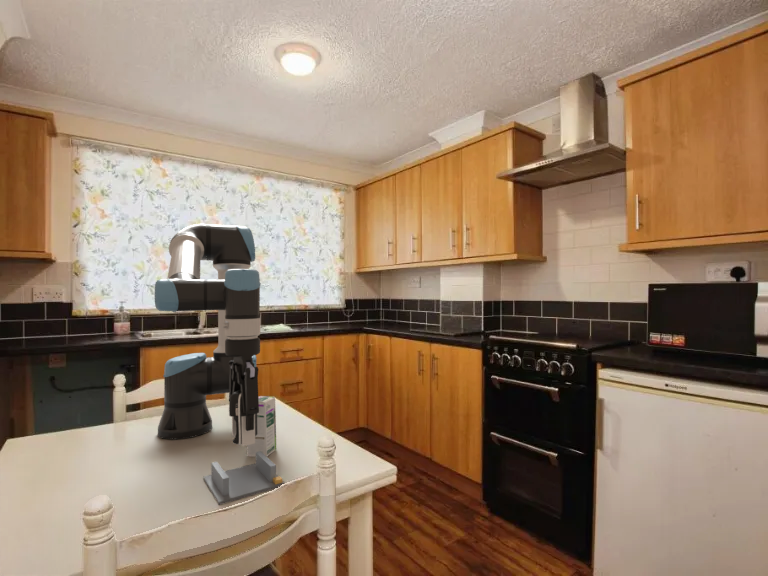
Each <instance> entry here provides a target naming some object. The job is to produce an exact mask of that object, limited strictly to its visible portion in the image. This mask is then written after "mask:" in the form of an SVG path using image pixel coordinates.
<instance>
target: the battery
mask: <svg viewBox="0 0 768 576" xmlns="http://www.w3.org/2000/svg"><path fill="white" fill-rule="evenodd" d="M228 402H229V403H228V404H229V406H228V412H229V413H228V415H229V417H231V418H232V417H234V420H235V421H236V436H235V437H234V439H232V443H233V444H234V445H239V446H242V417H240V414H241V413H243V406H242V396H241V389H240V390H238V391H236V392H234V393H233V394H232V395H231V396H230V401H229V400H228ZM257 434H258V433H257V413H256V414H255V436H256V435H257Z"/></svg>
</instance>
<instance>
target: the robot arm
mask: <svg viewBox="0 0 768 576" xmlns="http://www.w3.org/2000/svg"><path fill="white" fill-rule="evenodd" d="M168 252H169V255H170V261H169V268H168V273H167V278H163V279H158V280H156V281H155V283H154V304H155V306H154V307H155V309H156V310H157V311H160V312H173V313H176V312H193V311H194V312H195V311H197V312H198V311H199V312H200V311H217V312H218V313H217V322H218V325H217V326H218V327H217V329H218V331H217V332H218V334H217V337H218V343H217V347H216V348H215V349H213V355H212V356H209V357H207V353H205V352H193V353H189V354H182V355H178V356H175V357H172V358H169V359H168V360H167V361H166V362H165V364H164V371H163V372H164V373H163V379H164V382H163V383H164V385H163V386H164V391H163V392H164V393H163V395H164V398H163V401H164V404H163V406H164V407H163V411H162V414H161V417H160V420H159V423H158V426H157V437H159V438H161V439H165V440H183V439H189V438H190V439H191V438H195V437H198V436H201V435H203V434H206V433H208V432H210V431H211V430H212V429H213V419H212V417H211V414H210V411H209V408H208V405H207V396H209V395H210V396H211V395H220V394H228V402H229V401H230V396H231V395H232V394H233V393H234V392H236V391H238V390H240V389H241V396H242V406H243V413H241V414H240V417H242V445H241V446H242V447H247V445H250V444H255V414H256V413H259V400H258V396H259V383H258V382H259V381H258V380H259V379H258V378H259V368H258V366H257V355H259V354H260V352H261V339H260V337H258V336H260V335H261V315H260V310H261V306H260V303H261V302H260V300H261V299H260V298H261V297H260V296H261V295H260V294H261V282H260V281H261V280H260V278H261V277H260V272H259V271H258V270H256V269H253V268H251V265H252V264H251V263H253V262H255V261H256V247H255V240H254V235H253V232H252V229H250V228H249V227H248V226H242V225H237V224H236V225H234V224H230V225H229V224H213V223H212V224H211V223H210V224H209V223H207V224H206V223H198V224H197V223H195V224H192V225H189V226H187V227H184V228H183V229H181V230H179V231H178V232H177V233H176V234H174V235H173V236H172V238H171V240H170V241H169V245H168ZM201 261H210V262H211V261H212V267H213V268H214V269H215V270H216V271H217V279H205V278H204V279H202V278H201ZM231 436H232V437H234V438H235V436H236V421H235V420H234V417H231Z"/></svg>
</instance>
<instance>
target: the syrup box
mask: <svg viewBox="0 0 768 576" xmlns="http://www.w3.org/2000/svg"><path fill="white" fill-rule="evenodd" d="M258 400H259V413H257V433H258V434H257V435H256V436H255V444H250V445H246V456H247V457H251V458H256V452H259V451H261V452H262V453H263V454H264V455H265V456H266V457H267V458H268V456H269V455H271V454H272V453H274V452H275V451H276V450H277V427H276V425H277V424H276V423H277V420H276V419H277V418H276V417H277V415H276V397H275V396H269V395H267V396H266V395H260V396H259V395H258Z"/></svg>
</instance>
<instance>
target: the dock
mask: <svg viewBox="0 0 768 576" xmlns="http://www.w3.org/2000/svg"><path fill="white" fill-rule="evenodd" d="M210 464H211V468H210V470H211V472H210V473H211V474H208V475H204V476H203V478H202V479H203V481H204V483H205V484H206V486H207V487H208V489H209V491H210V492H211V494H212V496H213V497H214V499H215V501H216V502H217V504H218V505H223V504H226V503H230V502H233V501H236V500H239V499H243V498H246V497H250V496H253V495H257V494H261V493H264V492H267V491H270V490H273V489H277V488H279V487H278V486H280V485H282V484H284V483H285V484H286V482H285V481H284V480H283V478H282V477H281V476H280V475H277V466H276V464H275V462H273V461H272V460H271V459H269V458H268V456H267V457H266V456H265V455H264V454H263V453H262V452H261V451H259V452H256V457H255V463H251V464H247V465H244V466H239V467H236V468H231V469H227V470H224V469H223V468H222V466H221V465H220V464H219V462H218V461H214V462H211V463H210ZM276 487H277V488H276Z"/></svg>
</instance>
